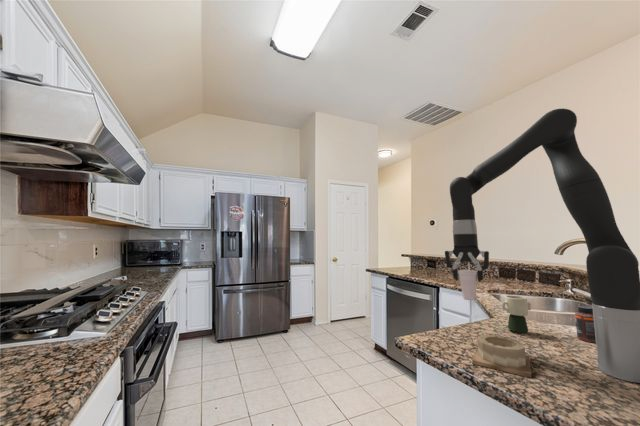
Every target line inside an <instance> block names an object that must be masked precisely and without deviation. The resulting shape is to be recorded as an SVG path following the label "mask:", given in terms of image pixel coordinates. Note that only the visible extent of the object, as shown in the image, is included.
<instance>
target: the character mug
mask: <svg viewBox="0 0 640 426" xmlns="http://www.w3.org/2000/svg"><path fill="white" fill-rule="evenodd" d="M501 309H502V311H505V312H506V313H507V314H509V315H508V321H507V322H508V323H507V329H508V330H511V331H513V332H514V331H515V333H517V332H518V333H522V334H523V333H524V334H527V333H528V332H529V327H528V323H527V320H526V317H525V316H529V311H531V310H532V307H531V302H530V301H528V298H527V297H526V296H521V295H512V294H511V295H510V294H509V295H508V294H507V295H504V301H502V302H501Z"/></svg>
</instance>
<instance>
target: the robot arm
mask: <svg viewBox="0 0 640 426" xmlns="http://www.w3.org/2000/svg"><path fill="white" fill-rule="evenodd" d="M577 123H578V118H577V115H576V113H575V112H574V111H573V110H571V109H570V108H569V109H568V108H555V109H552V110H550V111H548V112H546V113H545V114H544V115H542V116H541V117H540V118H539V119H538V120H537V121H535V123H533V124H532V125H531V126H530V127H529V128H528V129H526V131H524V132H523V133H522V134H521V135H519V136H518V137H517V138H515V139H514V140H513V141H512V142H510V143H509V144H508V145H506V146H505V147H504V148H502V149H501V150H499V151H497V152H496V153H495V154H493V155H492V156H490V157H489V158H488V159H486V160H484V161H482V162H481V163H480V164H478V165H477V166H475V168H473V171H472V172H471V173H469V174H468V175H467V176H465V177H464V176H457V177H455V178H454V179H452V181H451V182H450V185H449V194H450V195H449V196H450V202H451V205H452V206H451V207H452V235H453V236H452V237H453V250H445V251H444V256H445V263H446V268H449V269H451V270H452V276H453V279H455V281H460V279H459V274H458V270H459V269H458V267H459V265H460V264H461V263H465V262H467V263H468V262H470V263H472V264H473V265H474V266H475V267H476V269H477V271H478V274H477V283H481V282H482V281H483V280H484V270H488V269H489V268H490V267H489V265H490V264H489V263H490V252H489V251H488V250H486V251H485V250H480V249H479V243H478V230H477V228H478V227H477V223H476V215H475V213H476V212H475V211H476V210H475V207H474V204H473V195H474V194H476V193H477V192H478V191H480V190H481V189H482V188H483V187H485V186H486V185H487V184H489V183H490V182H492V181H494V180H496V179H497V178H498V177H500V176H502V175H504V174H505V173H507V172H508V171H509V170H511V169H512V168H513V167H514V166H516V164H518V163H519V162H520V161H521V160H522V159H524V158H525V157H526V156H528V155H529V154H531V152H533V151H535V150H536V149H537V148H540V147H541V146H542V149H543V150H544V152H545V154H546V155H547V157H548V159H549V161H550V164H551V166H552V170H553V175H554V178H555V182H556V184H557V187H558V191H559V193H560V196H561V198H562V200H563V202H564V204H565V207H566V208H567V210H568V212H569V213H570V215H571V217H572V219H573V220H574V221H575V223H576V225H578V227H579V229H580V231H581V232H582V233H581V234H582V235H583V237H584V241H585V244H586V246H587V251H588V254H587V256H586V260H585V262H586V263H585V264H586V275H587V282H588V289H589V294H590V298H591V307H592V308H593V317H594V327H595V337H596V343H595V344H596V346H595V347H596V355H597V364H598V365H597V366H598V370H599V371H601V372H602V373H604V374H606V375H608V376H610V377H614V378H616V379H619V380H622V381H626V382H631V383H637V384H640V271H639V260H638V258H637V257H636V255H635V253H634V252H633V251H632V249H631V248H630V246H629V244H628V243H627V242H626V239H625V238H624V236H623V234H622V233H621V231H620V230H619V227H618V224H617V222H616V221H617V220H616V217H615V213H614V211H613V208H612V204H611V201H610V198H609V195H608V191H607V190H606V187H605V185H604V182H603V181H602V179H601V177H600V174H598V172H597V170H596V169H595V168H594V167H593V166H592V165H591V163H590V162H589V161H588V160H587V159H586V158H585V157H584V156H583V154H582V152H581V150H580V148H579V144H578V142H577V138H576V134H575V129H576V127H577ZM453 255H454V256H455V258H456V259H455V261H454V264H452V258H451V257H452V256H453ZM480 255H481V257H482V258H483V265H481V264H480V262H479V260H478V259H477V258H478V256H480Z"/></svg>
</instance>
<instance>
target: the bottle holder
mask: <svg viewBox="0 0 640 426" xmlns="http://www.w3.org/2000/svg"><path fill="white" fill-rule="evenodd" d="M476 340H477V341H476V342H477V347H476V349H475V352H474V354H473V357H472V360H471V361H472V365H475V366H480V367H485V368H489V369H493V370H497V371H501V372H506V373H509V374H514V375H519V376H522V377H524V378H525V377H526V378H530V379H532V370H531V360H530V356H529V355H527V354H526V350H525V344H524V343H522V342H520V341H519V340H517V339H513V338H510V337H507V336H501V335H496V334H481V335H478V337H477V339H476Z"/></svg>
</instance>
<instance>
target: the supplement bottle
mask: <svg viewBox="0 0 640 426" xmlns="http://www.w3.org/2000/svg"><path fill="white" fill-rule="evenodd" d="M574 318H575V319H574V321H575V328H576V329H575V330H576V337H577V339H579V340H580V341H583V342H587V343H593V344H594V343H595V344H596V337H595V327H594V317H593V308H592V306H587V305H577V311H576V312H575V313H574Z"/></svg>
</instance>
